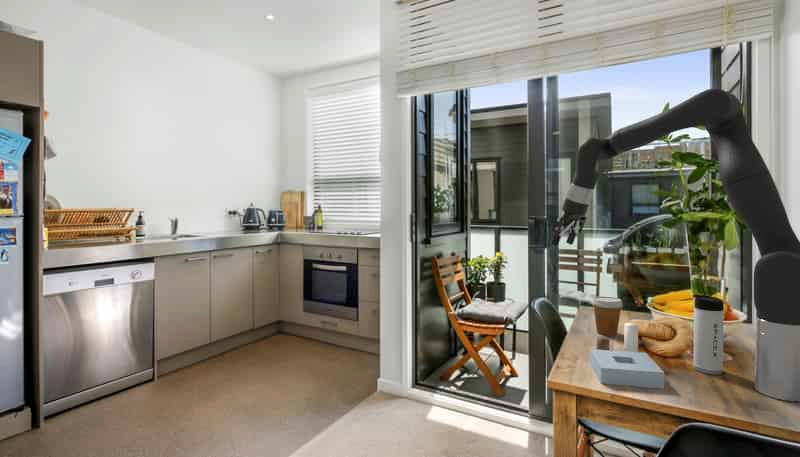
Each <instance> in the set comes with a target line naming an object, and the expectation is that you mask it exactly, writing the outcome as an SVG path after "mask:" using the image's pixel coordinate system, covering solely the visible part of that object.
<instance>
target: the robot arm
mask: <svg viewBox="0 0 800 457" xmlns="http://www.w3.org/2000/svg"><path fill="white" fill-rule="evenodd" d="M696 127H703V128H705V130H706V132H707V133H708V134H709V136H710V138H711V141H712V142H713V144H714V147H715V149H716V153H717V159H718V160H717V161H718V171H719V172H718V173H719V178H720V182H721V185H722V187H723V190H724V192H725V195H726V197H727V199H728V201H729V203H730V206H731V207H732V209H733V210H734V212H735V213H736V215H737V216H738V217H739V219H740V220H741V221H742V222H743V223H744V224H745V226H746V227H747V229H748V230H749V232H750V233H751V234H752V236H753V239H754V241H755V243H756V245H757V248H758V252H759V254H760V258H759V259H758V260H757V261H756V262H755V265H754V270H753V303H754V308H755V312H756V314H755V317H756V320H755V354H754V355H755V361H754V389H755V390H756V391H757V392H759V393H760V394H762V395H765V396H768V397H771V398H773V399H778V400H781V401H788V402H795V401H797V402H799V403H800V240H799V238H798V237H797V236H798V235H796V233H795V231H794V230H793V228H792V225H791V223H790V219H789V217H788V214H787V211H786V208H785V204H784V203H783V200H782V198H781V196H780V193H779V191H778V187H777V186H776V182H775V181H774V178H773V177H772V174H771V172H770V169H769V168H768V166H767V164H766V162H765V160H764V159H763V156H762V155H761V153H760V151H759V149H758V148H757V146H756V144H755V143H754V141H753V139H752V136H751V134H750V131H749V129H748V125H747V122H746V118H745V114H744V111H743V108H742V105H741V102H740V100H739V98H738V97H737V96H736V95H735V94H733V93H731V92H729V91H726V90H724V89H721V88H709V89H706V90H705V89H704V90H703V91H701V92H699V93H696V94H695V95H694V96H691V97H689V98H688V99H685V100H684V101H682V102H680V103H678V104H677V105H675V106H673V107H671V108H669V109H667V110H664V111H662V112H660V113H658V114H656V115H653V116H650V117H647V118H645V119H643V120H641V121H640V120H639V121H637V122H635V123H632V124H630V125H627V126H624V127H621V128H619V129H616V130H614V131H613V132H612V134H610V135H609V136H607V137H604V138H599V137H598V138H597V137H588V138H586V139H585V140H583V141H582V143H581V144H580V146H579V147H578V150H577V155H576V165H575V173H574V176H573V178H572V181H571V184H570V186H569V188H568V190H567V192H566V195H565V199H564V201H563V204H562V207H561V209H562V211H563V212H564V213H563V214H562V216H561V215H559V214H557V215H556V216H555V219H554V222H553V224H552V227H551V229H550V233H553V237H552V240H551V245H553V246H554V247H558V246H559V244H560V242H561V239H562V235H563V234H564V233H565V232H566V233H567V231H568V230H569V231H570V232H569V233H568V236H567V238H566V242H565V243H566V244H568V245H574V242H575V239H576V237H577V235H579V234H581V233H582V231H583V230H584V226H585V223H586V221H587V220H586V219H587V216H586V215H587V211H588V208H589V206H590V204H591V201H592V199H593V195H594V191H595V188H596V184H597V183H598V179H599V176H600V174H599V171H598V170H596V168H597V162H605V161H607V160H610V159H613V158H615V157H617V156H619V155H621V154H622V153H626V152H629V151H633V150H635V149H639V148H642V147H644V146H646V145H647V146H648V145H649V144H651V143H652V144H653V143H654V142H655V141H658V140H659V139H662V138H663V137H664V136H667V135H669V134H672V133H674V132H677V131H682V130H684V129H685V130H686V129H691V128H696Z"/></svg>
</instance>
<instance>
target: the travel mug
mask: <svg viewBox="0 0 800 457" xmlns="http://www.w3.org/2000/svg"><path fill="white" fill-rule="evenodd" d="M692 298H694V311H693V313H694V314H693V364H692V365H693V370H695V371H697V372H699V373H702V374H706V375H712V376H713V375H714V376H718V375H722V373H723V371H724V370H723V367H724V365H723V364H724V361H723V360H724V328H725V327H724V323H725V322H724V321H725V318H724V317H725V314H724V312H725V309H724V308H725V307H724V304H725V303H724V300H723V299H722V298H718V297H714V296H710V295H703V294H699V293H695V294H693V295H692Z"/></svg>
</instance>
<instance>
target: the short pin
mask: <svg viewBox="0 0 800 457" xmlns="http://www.w3.org/2000/svg"><path fill="white" fill-rule="evenodd" d="M596 350H610V338H609V337H606V336H596Z"/></svg>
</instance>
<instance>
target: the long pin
mask: <svg viewBox="0 0 800 457" xmlns="http://www.w3.org/2000/svg"><path fill="white" fill-rule="evenodd" d="M623 330H624V334H623V335H624V343H623V345H624V346H623V348H624V350H623V351H626V352H639V324H637V323H634V322H626V323H624V329H623Z"/></svg>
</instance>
